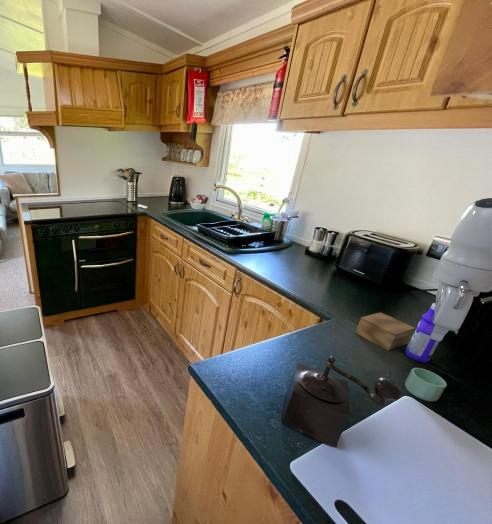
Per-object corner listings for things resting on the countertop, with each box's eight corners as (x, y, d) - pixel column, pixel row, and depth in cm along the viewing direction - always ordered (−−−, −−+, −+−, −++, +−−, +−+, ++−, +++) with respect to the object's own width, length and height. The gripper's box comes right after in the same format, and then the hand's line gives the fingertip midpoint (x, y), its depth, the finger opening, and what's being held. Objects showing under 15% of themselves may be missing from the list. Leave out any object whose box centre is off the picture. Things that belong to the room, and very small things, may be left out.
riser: (407, 343, 93) (415, 328, 91) (388, 350, 89) (395, 334, 87) (374, 326, 102) (380, 312, 99) (355, 332, 97) (361, 317, 95)
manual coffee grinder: (279, 425, 61) (303, 357, 55) (285, 391, 70) (306, 329, 63) (368, 467, 54) (407, 395, 47) (362, 424, 63) (394, 358, 56)
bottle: (405, 346, 91) (429, 298, 85) (429, 356, 88) (456, 306, 81) (402, 356, 87) (428, 306, 80) (428, 367, 83) (456, 315, 77)
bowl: (442, 398, 72) (451, 382, 70) (429, 405, 69) (438, 389, 67) (412, 380, 77) (419, 365, 75) (398, 386, 75) (406, 371, 73)
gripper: (491, 295, 52) (456, 357, 57) (482, 269, 66) (454, 321, 71) (443, 283, 56) (414, 342, 61) (444, 261, 70) (420, 310, 75)
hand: (435, 330), depth 66 cm, fingers open, 8 cm apart
